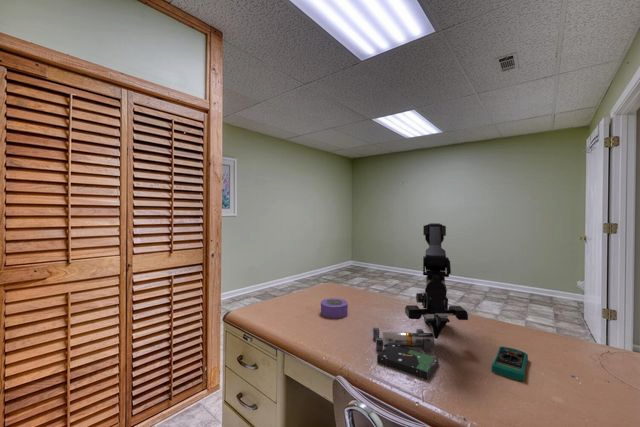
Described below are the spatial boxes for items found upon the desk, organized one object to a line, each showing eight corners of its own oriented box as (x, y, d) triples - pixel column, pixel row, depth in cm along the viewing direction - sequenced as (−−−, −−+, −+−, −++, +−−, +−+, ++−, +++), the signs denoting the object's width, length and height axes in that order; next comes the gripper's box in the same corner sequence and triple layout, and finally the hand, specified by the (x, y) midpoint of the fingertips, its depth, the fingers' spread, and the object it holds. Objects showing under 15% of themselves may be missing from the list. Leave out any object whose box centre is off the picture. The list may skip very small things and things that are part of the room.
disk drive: (376, 365, 83) (428, 382, 74) (376, 355, 83) (428, 372, 74) (390, 351, 91) (438, 365, 82) (390, 342, 91) (438, 355, 82)
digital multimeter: (528, 360, 84) (528, 351, 84) (523, 384, 73) (523, 372, 73) (499, 353, 89) (499, 343, 89) (491, 374, 78) (491, 363, 78)
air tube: (430, 342, 95) (430, 330, 95) (434, 348, 91) (434, 337, 91) (382, 340, 96) (382, 329, 96) (384, 347, 92) (384, 335, 92)
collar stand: (422, 338, 98) (422, 328, 98) (431, 352, 88) (431, 341, 88) (372, 337, 99) (372, 327, 99) (376, 351, 89) (376, 340, 89)
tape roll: (352, 312, 125) (352, 300, 125) (339, 320, 115) (339, 308, 115) (329, 307, 131) (329, 296, 131) (315, 315, 121) (315, 303, 121)
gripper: (454, 285, 100) (454, 328, 100) (401, 284, 101) (401, 327, 101) (468, 294, 89) (468, 343, 89) (409, 293, 90) (409, 341, 90)
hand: (435, 338), depth 93 cm, fingers closed
